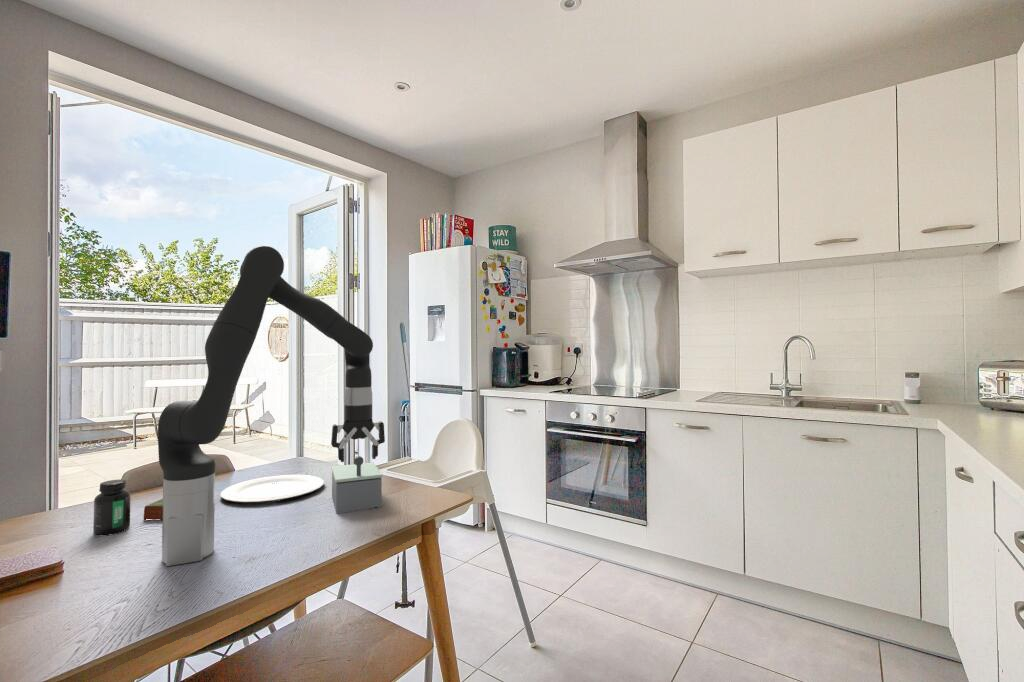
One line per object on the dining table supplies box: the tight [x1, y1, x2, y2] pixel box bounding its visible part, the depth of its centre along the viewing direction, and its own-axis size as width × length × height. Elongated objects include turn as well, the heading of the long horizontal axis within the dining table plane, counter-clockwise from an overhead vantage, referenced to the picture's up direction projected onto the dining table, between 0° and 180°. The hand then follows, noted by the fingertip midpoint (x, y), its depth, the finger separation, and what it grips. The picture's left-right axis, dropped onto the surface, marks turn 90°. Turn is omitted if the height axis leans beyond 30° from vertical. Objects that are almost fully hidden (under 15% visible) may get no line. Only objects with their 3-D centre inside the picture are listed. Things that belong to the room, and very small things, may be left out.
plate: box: [220, 474, 325, 504], centre depth 145 cm, size 29×29×2 cm
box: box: [331, 471, 383, 514], centre depth 135 cm, size 16×12×8 cm
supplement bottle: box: [92, 478, 132, 537], centre depth 113 cm, size 7×7×12 cm
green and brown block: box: [143, 498, 163, 521], centre depth 128 cm, size 8×16×4 cm, turn 0°
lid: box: [331, 455, 383, 483], centre depth 135 cm, size 16×12×6 cm
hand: (358, 460), depth 130 cm, fingers open, 8 cm apart
